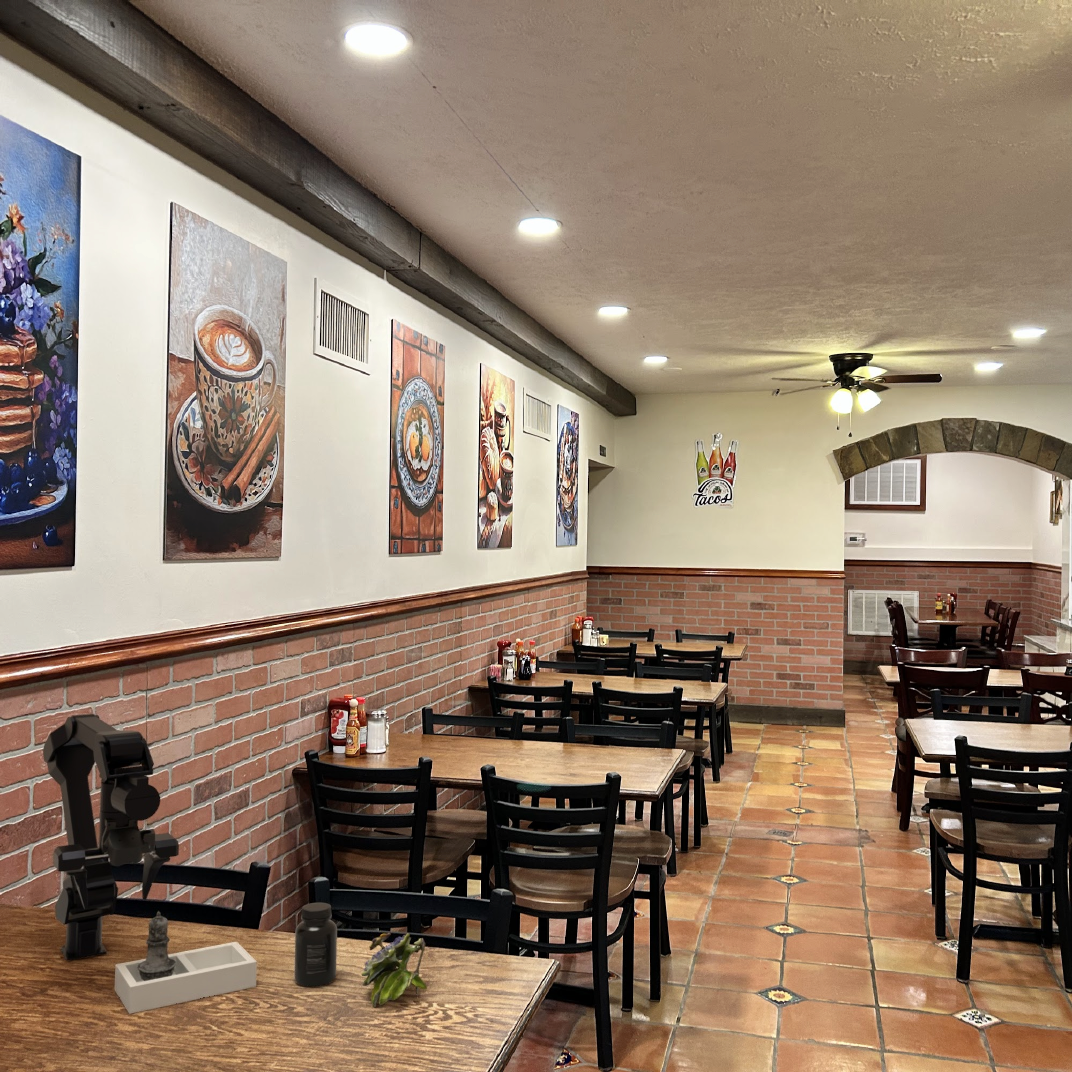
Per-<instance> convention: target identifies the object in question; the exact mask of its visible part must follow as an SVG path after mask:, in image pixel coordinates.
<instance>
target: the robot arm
mask: <svg viewBox="0 0 1072 1072" xmlns="http://www.w3.org/2000/svg"><path fill="white" fill-rule="evenodd" d="M42 749H43V750H42V755H43V761H44V762H45V763H46V766H47V770H48V774H49V776H50V777H51V778H52V779H53V780H54V781H55V782H56V783H57V784H58V785H59V787H60V793H61V801H62V808H63V815H64V822H65V823H64V825H65V831H66V838H67V844H66V845H60V846H56V848H55V849H54V850H53V853H52V855H53V856H52V864H53V866H54V867H55V869H56V870H57V872H62V873H63V872H64V874H65V878H64V879H63V882H62V890H61V893H60V895H59V896H58V898H57V900H56V903H55V905H54V911H55V919H57V921H59V923H61V924H62V925H64V926H65V925H66V930H65V931H66V932H65V933H66V935H65V938H66V939H65V945H62V946H60V950H61V953H62V954H63V957H64V958H65V960H66V961H73V960H80V959H84V958H85V959H86V958H89V957H95V956H100V955H106V954H107V949H106V946H104V944H103V943H102V936H103V935H102V934H103V917H107V916H112V915H113V916H114V913H115V909H116V905H117V899H118V894H119V887H118V886H117V882H116V880H115V879H114V876H113V875H114V874H113V866H114V867H120V866H122V865H127V864H139V863H140V862H142V861H143V873H142V883H141V884H142V885H141V893H142V895H141V897H142V900H143V901H146V900H147V899H148V897H149V896H148V895H149V894H150V891H151V888H152V886H153V883H154V881H155V878H156V877H157V876H156V875H157V874H158V872H159V870H160V868H161V867H162V866H163V865H164V864H165V863H169V862H170V861H171V858H173V857H174V858H175V857H177V856H179V852H180V849H179V848H180V843H179V840H177V839H176V838H175V837H174V836H173V835H172V834H170V833H169V832H165V833H164V832H163V833H157V834H156V832H155V830H154V828H148V829H142V830H140V828H139V824H138V822H141V821H145V820H149V819H150V818H151V817H153V816H154V815H155V814H156V813H157V811H158V810H159V808H160V805H161V796H160V793H159V791H158V789H157V788H156V787H154V786H153V785H151V784H150V783H149V781H150V779H149V776H152V775H153V776H154V770H153V768H154V765H155V762H154V760H153V756H152V753H151V750H150V748H149V745H148V743H147V740H146V739H145V737H144V736H143V734H142V733H141V732H140V731H137V730H119V729H117V728H115V727H114V726H112V725H110V724H108V723H107V722H105V721H104V720H103V719H101V718H100V716H99V715H98V714H95V713H86V714H73V715H71V716H68V717H67V718H66V721H65V722H64V723H63V724H61V725H60V726H59V727H57V728H56V729H54V730H53V731H52V732H50V733H49V735H48V737H47V738H46V741H45V742H44V744H43V748H42ZM94 765H96V768H97V770H98V773H99V775H98V776H99V778H100V779H101V780H100V797H99V799H100V800H99V801H100V803H99V814H98V816H99V818H98V819H99V827H98V829H99V830H98V838H97V832H96V831H97V830H96V825H95V818H94V810H93V806H92V797H91V791H90V782H89V776H90V774H91V772H92V769H93V768H94ZM143 854H144V859H143ZM105 859H109V861H108V860H107V861H105Z"/></svg>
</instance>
